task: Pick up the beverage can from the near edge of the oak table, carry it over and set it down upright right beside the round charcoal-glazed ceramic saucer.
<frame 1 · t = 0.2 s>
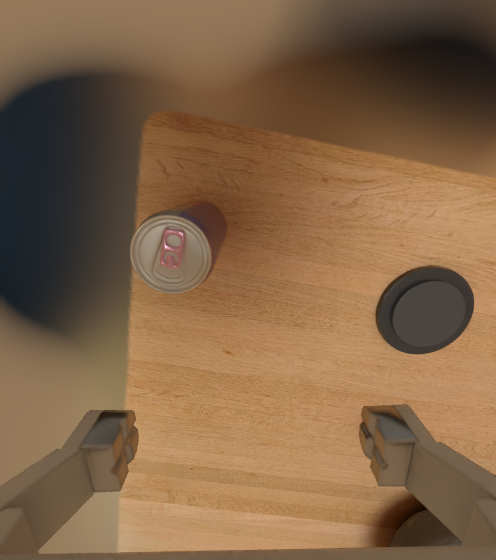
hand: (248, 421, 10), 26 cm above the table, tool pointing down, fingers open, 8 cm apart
bowl: (431, 526, 51), on the table
saucer: (422, 310, 38), on the table
beverage can: (201, 226, 34), on the table
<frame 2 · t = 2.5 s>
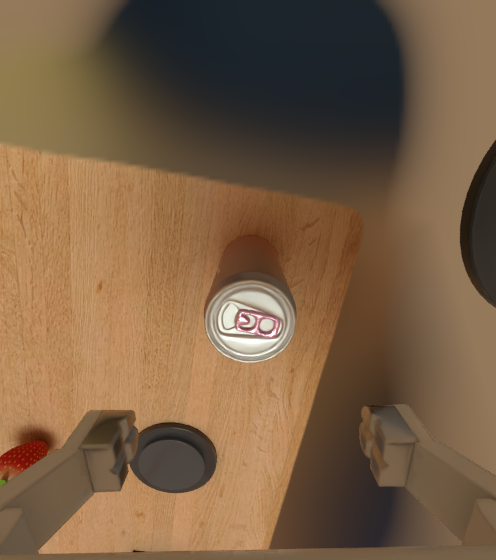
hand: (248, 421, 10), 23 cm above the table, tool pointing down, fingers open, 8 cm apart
saucer: (173, 456, 41), on the table
fruit: (41, 440, 40), on the table
beverage can: (249, 261, 32), on the table
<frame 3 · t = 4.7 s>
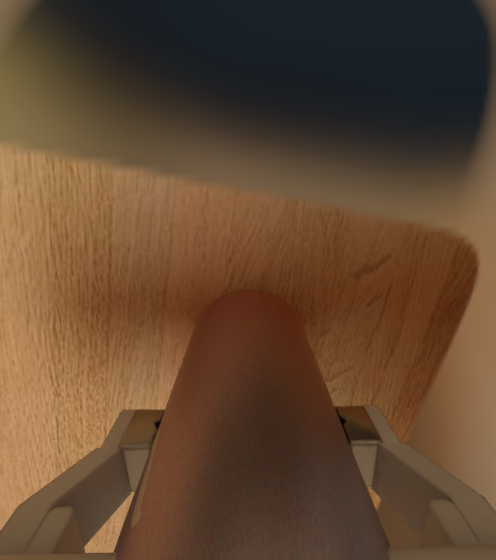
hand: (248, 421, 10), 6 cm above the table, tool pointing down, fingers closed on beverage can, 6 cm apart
beverage can: (248, 334, 16), on the table, touching gripper
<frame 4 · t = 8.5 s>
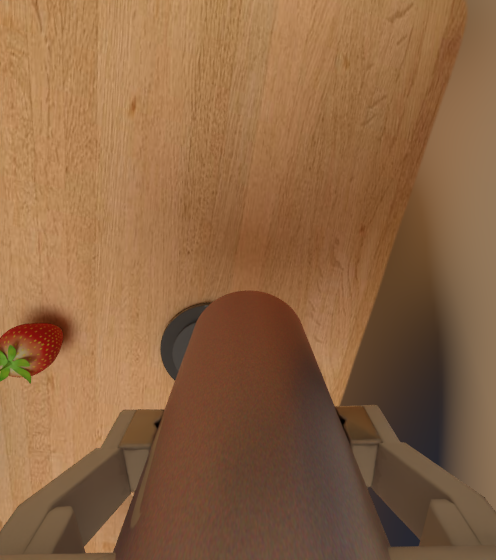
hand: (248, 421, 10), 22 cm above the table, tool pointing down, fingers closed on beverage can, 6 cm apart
saucer: (213, 349, 34), on the table
fruit: (55, 328, 34), on the table
beverage can: (248, 334, 16), point 15 cm above the table, touching gripper
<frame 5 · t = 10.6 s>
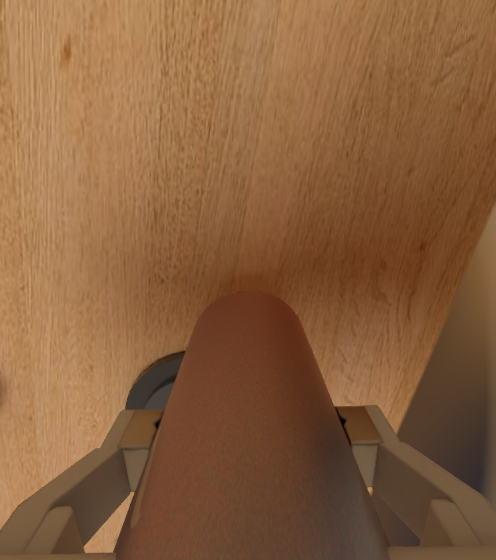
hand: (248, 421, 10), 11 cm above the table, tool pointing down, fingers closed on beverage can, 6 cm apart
saucer: (201, 413, 24), on the table
beverage can: (248, 334, 16), point 5 cm above the table, touching gripper
when the fingers open (6 cm above the table, at t = 12.3 s): beverage can stays where it is, on the table.
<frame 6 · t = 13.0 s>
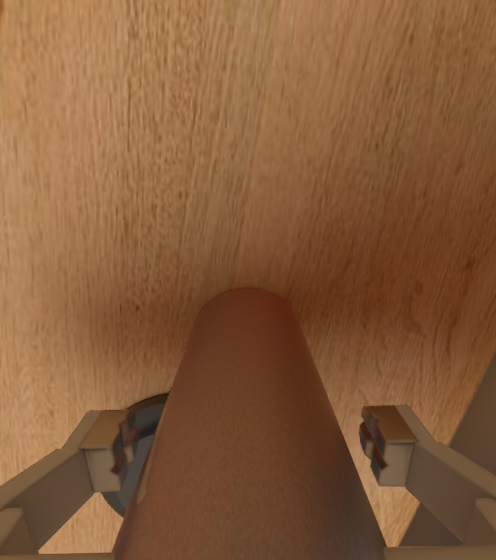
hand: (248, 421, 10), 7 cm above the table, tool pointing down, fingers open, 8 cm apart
saucer: (189, 466, 20), on the table
beverage can: (246, 331, 17), on the table
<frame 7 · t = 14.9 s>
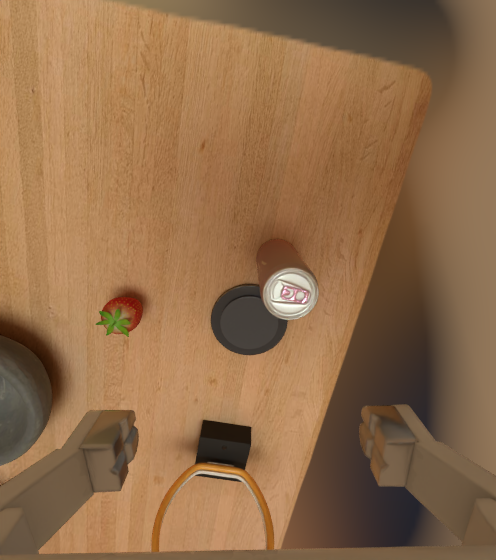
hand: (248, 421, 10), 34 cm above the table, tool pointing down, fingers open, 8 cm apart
bowl: (7, 369, 49), on the table
lamp: (223, 441, 54), on the table
saucer: (249, 319, 46), on the table
fruit: (134, 302, 46), on the table
beverage can: (276, 257, 43), on the table
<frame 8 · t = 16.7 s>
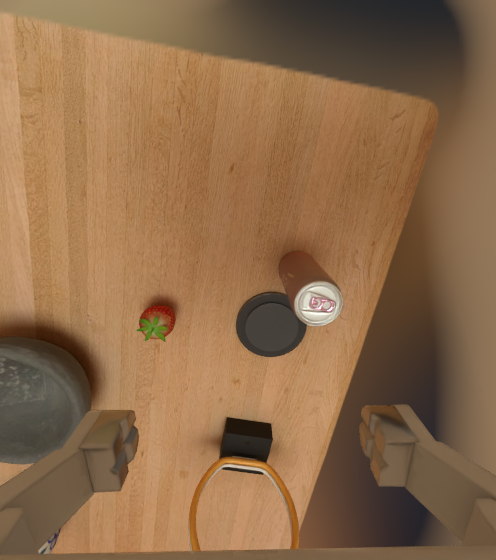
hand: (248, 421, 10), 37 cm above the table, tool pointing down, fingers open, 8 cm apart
bowl: (46, 372, 53), on the table
lamp: (245, 437, 58), on the table
saucer: (271, 324, 50), on the table
fruit: (165, 309, 50), on the table
beverage can: (296, 267, 47), on the table
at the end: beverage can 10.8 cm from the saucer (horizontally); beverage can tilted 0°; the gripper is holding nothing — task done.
